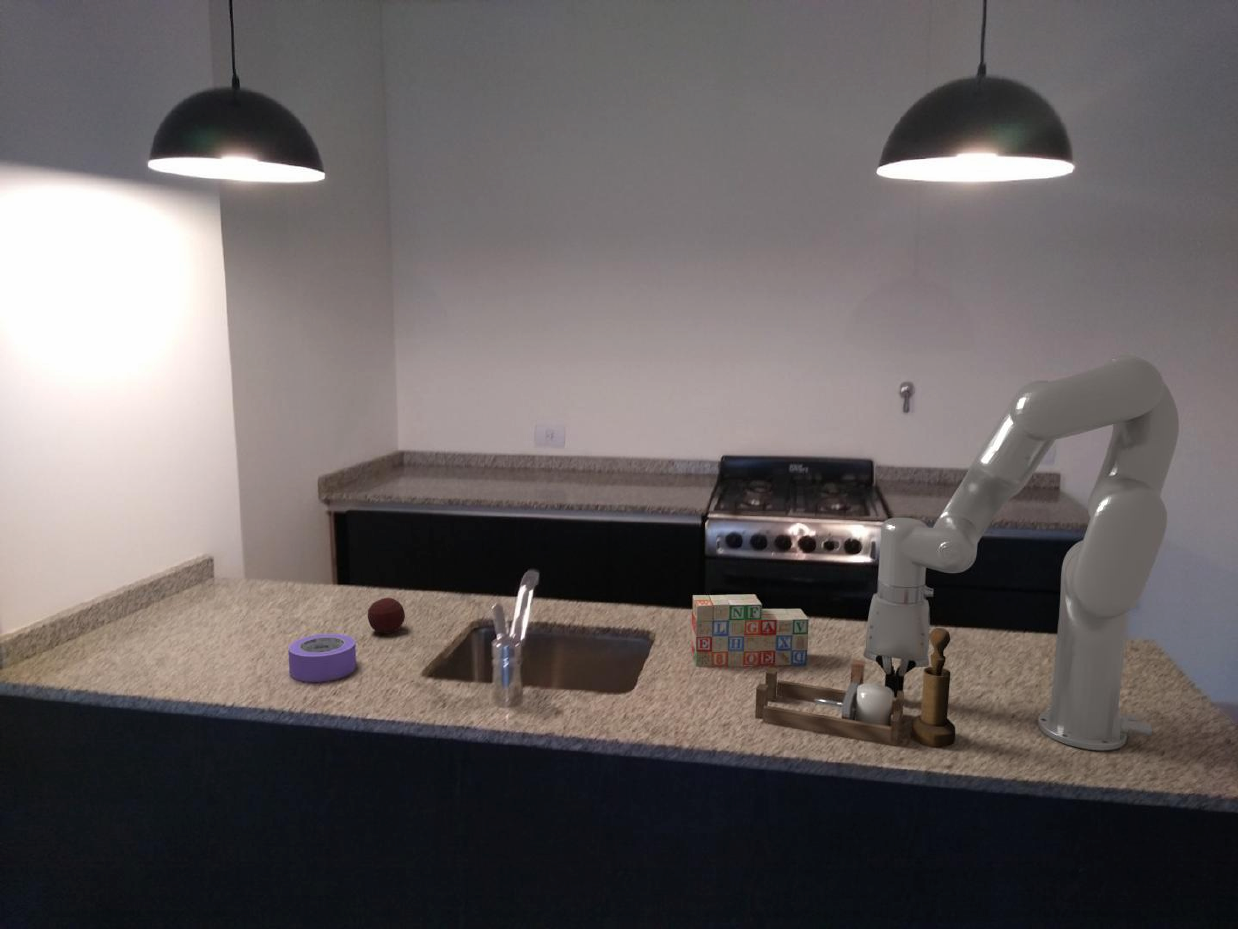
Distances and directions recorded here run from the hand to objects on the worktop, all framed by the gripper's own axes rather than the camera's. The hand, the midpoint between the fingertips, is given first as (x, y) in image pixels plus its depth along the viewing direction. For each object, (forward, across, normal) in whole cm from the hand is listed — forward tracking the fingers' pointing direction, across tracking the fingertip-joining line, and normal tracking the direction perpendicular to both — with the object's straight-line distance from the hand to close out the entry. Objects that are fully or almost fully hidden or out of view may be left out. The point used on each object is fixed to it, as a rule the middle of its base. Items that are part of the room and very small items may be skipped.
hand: (893, 694), depth 154 cm
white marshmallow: (+1, +2, +10) cm, 11 cm away
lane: (+1, +9, +10) cm, 14 cm away
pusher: (+1, +8, +7) cm, 11 cm away
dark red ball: (+2, +100, +6) cm, 100 cm away
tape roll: (+2, +99, +26) cm, 103 cm away
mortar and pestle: (+2, -7, +12) cm, 14 cm away
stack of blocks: (+2, +28, -9) cm, 29 cm away
